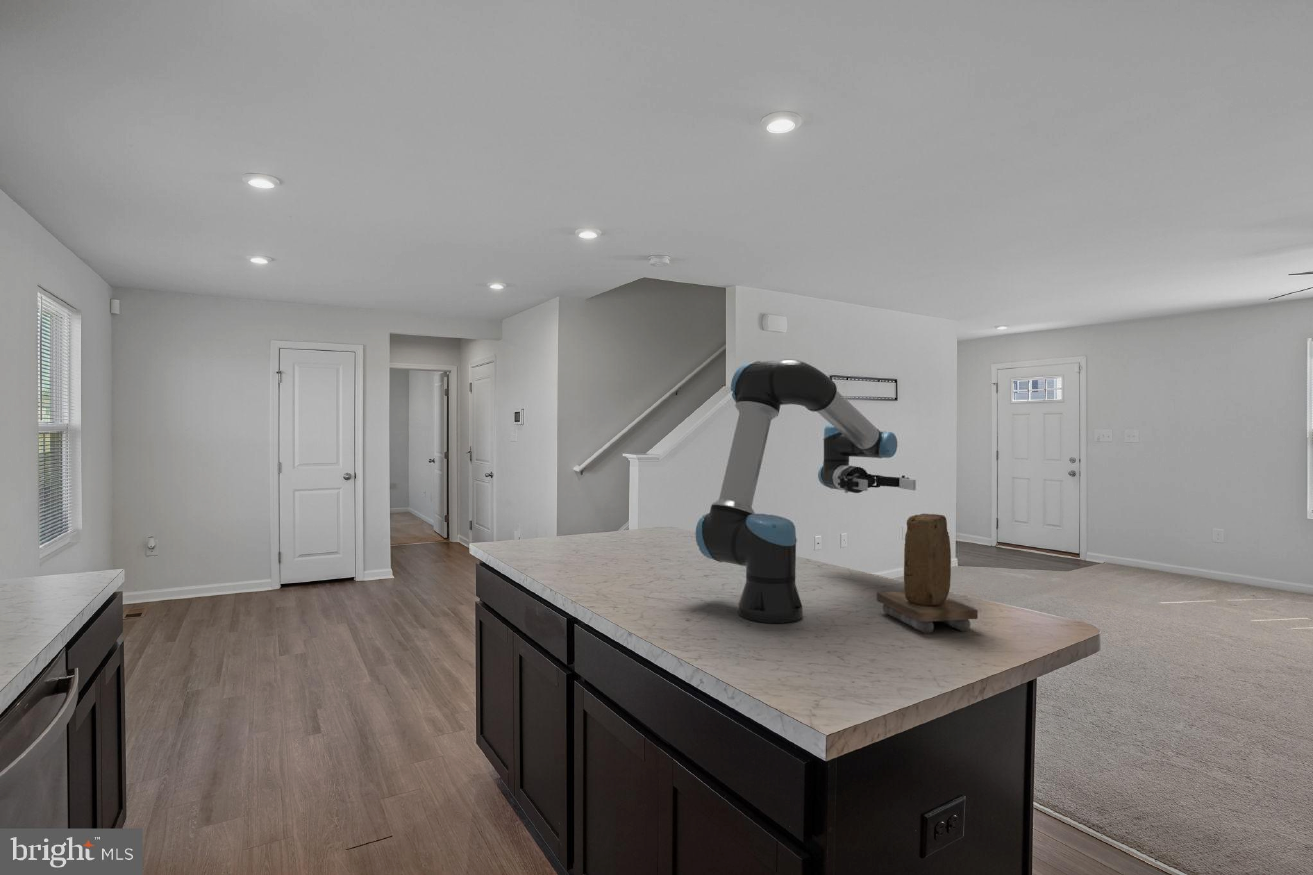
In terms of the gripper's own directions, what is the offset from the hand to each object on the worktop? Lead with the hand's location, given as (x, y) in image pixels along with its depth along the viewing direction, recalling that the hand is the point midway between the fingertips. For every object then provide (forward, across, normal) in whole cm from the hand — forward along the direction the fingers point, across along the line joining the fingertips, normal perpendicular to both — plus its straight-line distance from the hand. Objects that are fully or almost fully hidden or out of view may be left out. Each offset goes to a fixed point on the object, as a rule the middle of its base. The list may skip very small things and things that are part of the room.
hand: (890, 485), depth 173 cm
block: (+20, +2, -25) cm, 32 cm away
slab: (+19, +2, -30) cm, 35 cm away
